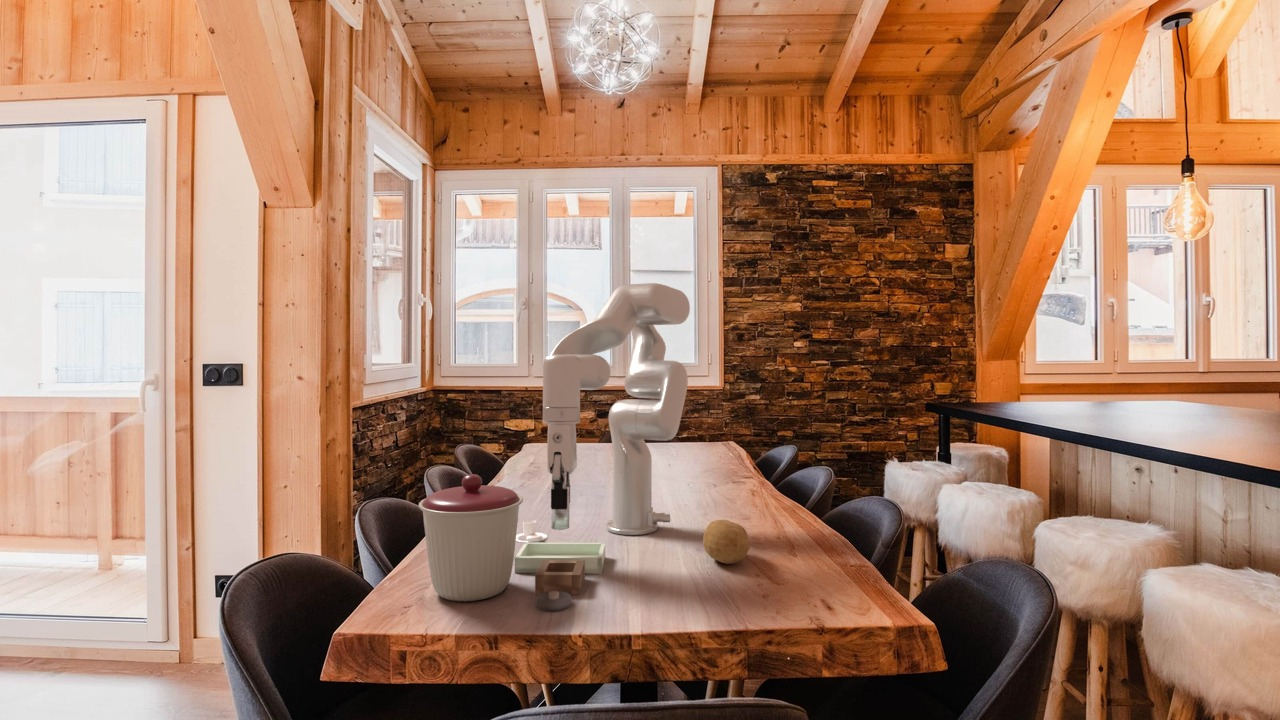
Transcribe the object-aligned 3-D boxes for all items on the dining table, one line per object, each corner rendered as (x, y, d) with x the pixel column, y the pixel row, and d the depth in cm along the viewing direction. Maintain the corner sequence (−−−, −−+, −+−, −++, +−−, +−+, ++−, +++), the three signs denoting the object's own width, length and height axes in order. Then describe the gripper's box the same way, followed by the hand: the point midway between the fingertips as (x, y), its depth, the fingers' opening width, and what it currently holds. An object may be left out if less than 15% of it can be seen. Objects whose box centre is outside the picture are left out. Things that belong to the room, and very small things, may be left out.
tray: (605, 557, 134) (605, 542, 134) (601, 573, 124) (601, 558, 124) (524, 556, 134) (524, 542, 134) (514, 572, 124) (514, 557, 124)
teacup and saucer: (543, 545, 143) (543, 527, 143) (508, 545, 143) (508, 527, 143) (550, 534, 152) (550, 517, 152) (516, 534, 152) (516, 517, 152)
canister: (444, 572, 124) (444, 464, 124) (534, 576, 122) (534, 466, 122) (399, 609, 106) (399, 483, 106) (504, 614, 104) (504, 486, 104)
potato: (739, 549, 139) (739, 513, 139) (758, 571, 125) (758, 531, 125) (695, 551, 138) (695, 514, 138) (710, 573, 124) (710, 532, 124)
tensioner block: (584, 578, 121) (584, 560, 121) (575, 611, 105) (575, 590, 105) (542, 578, 121) (542, 560, 121) (526, 611, 105) (526, 590, 105)
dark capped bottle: (570, 525, 130) (570, 481, 130) (568, 530, 127) (568, 484, 127) (552, 525, 130) (553, 481, 130) (550, 529, 127) (550, 484, 127)
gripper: (575, 419, 120) (574, 516, 120) (584, 412, 137) (583, 498, 137) (535, 419, 120) (534, 516, 120) (549, 412, 137) (548, 497, 137)
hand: (560, 505), depth 128 cm, fingers closed on dark capped bottle, 3 cm apart
